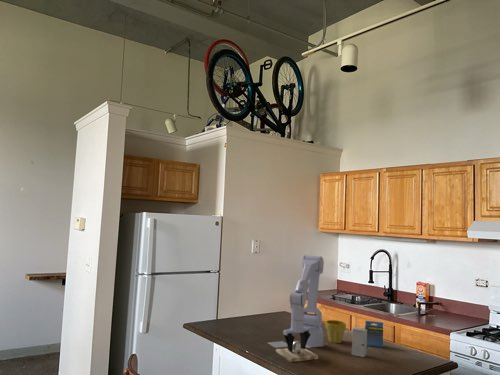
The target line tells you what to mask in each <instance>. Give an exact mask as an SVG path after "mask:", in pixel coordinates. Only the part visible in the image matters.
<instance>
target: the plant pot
mask: <svg viewBox="0 0 500 375" xmlns="http://www.w3.org/2000/svg"><path fill="white" fill-rule="evenodd" d="M346 326H347V323H346V322H345V321H343V320H338V319H328V320H326V321H325V329H326V331H327V332H326V333H327V338H328V342H330V343H332V344H340V343H342V341H343V337H344V333H345V331H346V330H347V328H346Z"/></svg>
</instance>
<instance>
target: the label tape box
mask: <svg viewBox="0 0 500 375" xmlns="http://www.w3.org/2000/svg"><path fill="white" fill-rule="evenodd" d="M364 329H367V346H368V347H378V348H379V347H380V348H383V347H384V322H381V321H372V320H365V325H364Z"/></svg>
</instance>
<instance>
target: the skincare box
mask: <svg viewBox="0 0 500 375" xmlns="http://www.w3.org/2000/svg"><path fill="white" fill-rule="evenodd" d="M351 330H352V334H351V336H352V337H351V355H352V356H356V357H361V358H365V357H366V356H367V329H365V327H357V326H354V327H353V328H352V329H351Z"/></svg>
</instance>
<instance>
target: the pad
mask: <svg viewBox="0 0 500 375" xmlns="http://www.w3.org/2000/svg"><path fill="white" fill-rule="evenodd" d="M267 344H268V345H270V346H271V347H273V348H275V349H280V348H288V346H287V342H286V341H283V340H281V341H271V342H267Z"/></svg>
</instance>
